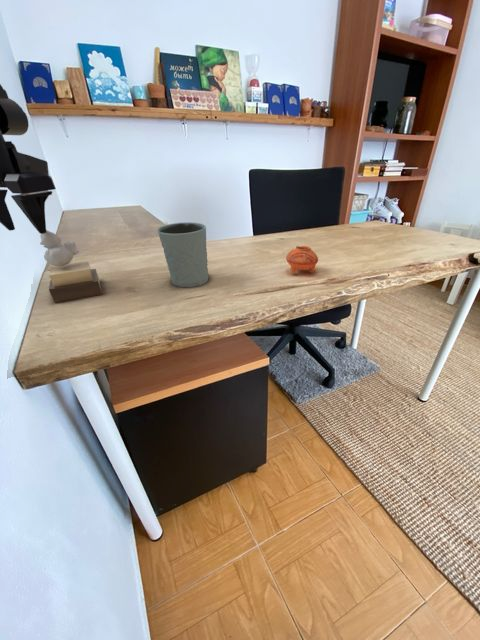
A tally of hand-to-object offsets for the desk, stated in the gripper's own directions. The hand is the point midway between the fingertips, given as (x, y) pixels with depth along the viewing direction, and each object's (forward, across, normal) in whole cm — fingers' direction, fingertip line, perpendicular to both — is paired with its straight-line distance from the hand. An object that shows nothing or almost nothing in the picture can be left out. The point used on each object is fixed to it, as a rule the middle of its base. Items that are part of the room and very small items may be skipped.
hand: (27, 231), depth 58 cm
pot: (+14, -48, -31) cm, 59 cm away
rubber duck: (+7, -6, -2) cm, 9 cm away
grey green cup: (+13, -25, -16) cm, 33 cm away
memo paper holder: (+13, -6, -2) cm, 14 cm away
